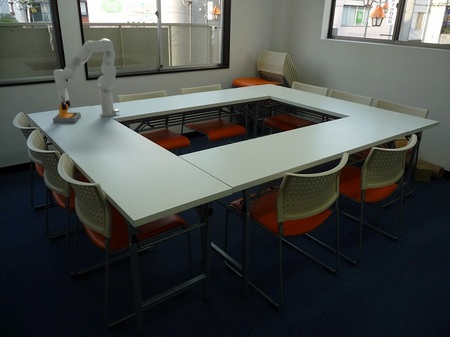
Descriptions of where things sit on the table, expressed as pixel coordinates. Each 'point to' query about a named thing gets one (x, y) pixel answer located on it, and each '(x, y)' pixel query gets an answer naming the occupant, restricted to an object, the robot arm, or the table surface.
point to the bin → (67, 120)
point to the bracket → (64, 112)
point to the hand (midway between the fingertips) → (66, 108)
